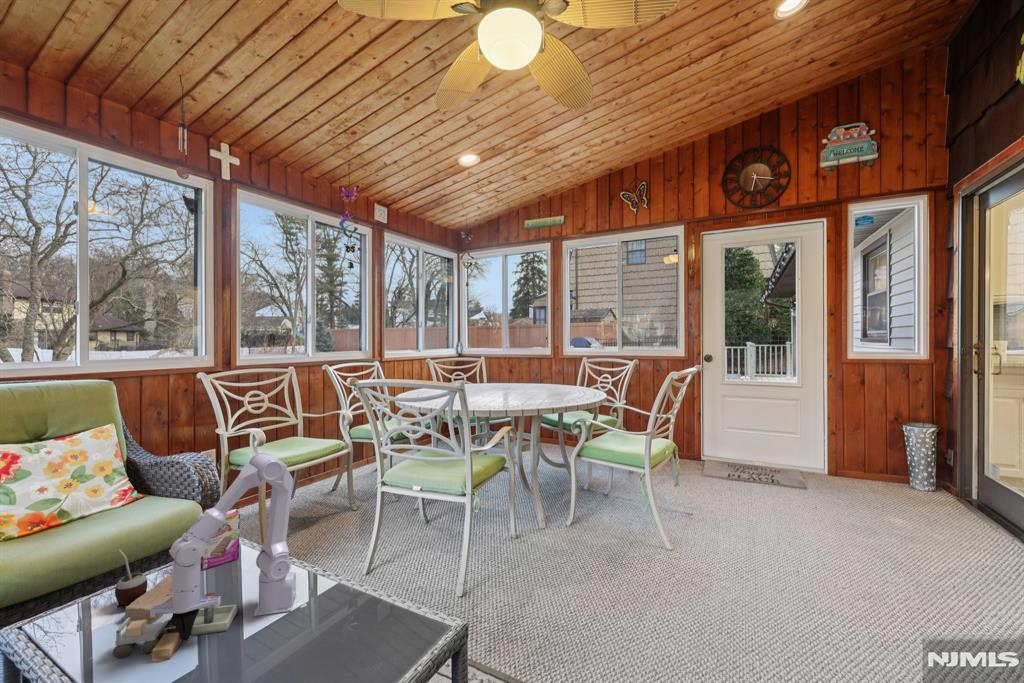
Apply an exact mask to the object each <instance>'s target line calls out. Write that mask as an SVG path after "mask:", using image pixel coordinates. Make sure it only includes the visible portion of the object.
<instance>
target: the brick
mask: <svg viewBox="0 0 1024 683" xmlns="http://www.w3.org/2000/svg"><path fill="white" fill-rule="evenodd" d="M171 601H172V575H168V576H166V577H163V578H162V579H161V581H159V582H158V583H156V584H155V585H154V586H153V588H150V590H148V591H146V593H145V594H143V595H142V596H140V597H139V598H137V599H136V600H135V601H134V602H132V603H131V604H130V605H129V606H127V607H124V608H125V609H126V611H125V609H124V617H123V622H124V621H125V620H126V619H127V618H130V617H131V622H132V621H139V620H147V625H149V624H155V623H156V622H157V621H158V620H159V619H160V618H162V617H163V616H164V614H162V615H156V617H152V618H150V610H151V609H152V607H153V606H154V605H160V604H164V603H167V602H171Z"/></svg>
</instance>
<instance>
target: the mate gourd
mask: <svg viewBox="0 0 1024 683" xmlns="http://www.w3.org/2000/svg"><path fill="white" fill-rule="evenodd" d="M118 552H119V553H120V555H121V556H122V557H123V562H124V563H125V567H126V572H127V575H125V576H123V577H121V578H120V579H119V580H118V581H117V583H116V585H115V587H114V597H115V599H116V602H117V609H122V608H126V607H127V606H129V605H130V604H131V603H132V602H134V601H135V600H136V599H137V598H139V597H140V596H142V595H143V594H145V593H146V592H148V591H147V589H148V579H147V576H146V575H145V574H144V573H143V572H133V573H131V571H130V566H129V562H128V561H129V560H128V557H127V555H126V554H125V553H124V552H123V550H121V549H118ZM125 611H126V609H124V612H125Z"/></svg>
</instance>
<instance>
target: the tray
mask: <svg viewBox="0 0 1024 683" xmlns="http://www.w3.org/2000/svg"><path fill="white" fill-rule="evenodd" d="M237 613H238V604H237V603H236V604H228V605H227V604H226V605H219V607H218V608H214V621H213V622H212V623H210V624H204V608H203V609H200V610H199V612H198V614H197V616H196V619H195V621H194V624H193V627H192V631H191V636H190V637H192V636H199V635H206V634H214V633H220V632H225V631H226V632H227V631H228V630H229V629H230V626H231V625H232V623H233V620H234V619H235V617H236V614H237Z"/></svg>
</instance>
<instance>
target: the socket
mask: <svg viewBox="0 0 1024 683" xmlns="http://www.w3.org/2000/svg"><path fill="white" fill-rule="evenodd" d="M164 628H166V629H167V634H170V633H177V632H178V630H177V629H176V627H175V626H174V625H173V624H172V623H171V618H169V619H167V620H166V622H165V627H164Z"/></svg>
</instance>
